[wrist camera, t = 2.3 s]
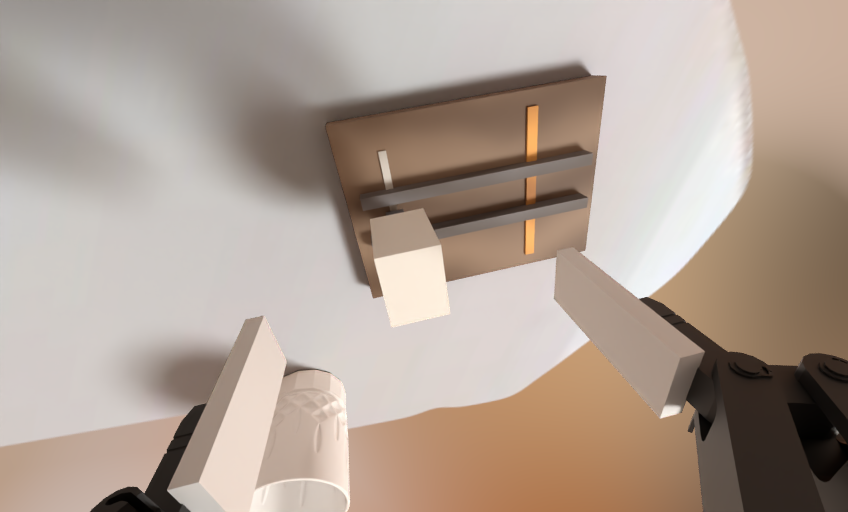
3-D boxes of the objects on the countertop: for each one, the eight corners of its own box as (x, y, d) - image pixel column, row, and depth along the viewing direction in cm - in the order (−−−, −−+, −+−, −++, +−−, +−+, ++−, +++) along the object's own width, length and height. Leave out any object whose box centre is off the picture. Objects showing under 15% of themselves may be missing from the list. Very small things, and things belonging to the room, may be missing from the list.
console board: (326, 122, 21) (323, 128, 19) (592, 75, 22) (617, 75, 20) (372, 287, 28) (373, 305, 25) (575, 242, 29) (592, 256, 27)
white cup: (271, 423, 33) (242, 546, 25) (259, 367, 30) (220, 489, 21) (352, 415, 35) (351, 528, 26) (350, 360, 31) (348, 471, 22)
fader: (367, 195, 22) (373, 259, 14) (412, 186, 22) (441, 244, 15) (380, 248, 24) (391, 327, 16) (421, 239, 24) (450, 313, 17)
